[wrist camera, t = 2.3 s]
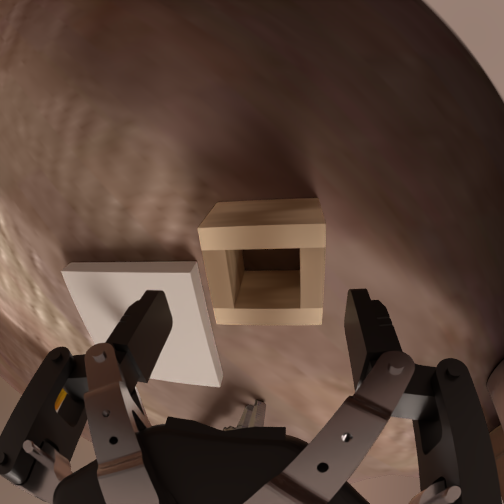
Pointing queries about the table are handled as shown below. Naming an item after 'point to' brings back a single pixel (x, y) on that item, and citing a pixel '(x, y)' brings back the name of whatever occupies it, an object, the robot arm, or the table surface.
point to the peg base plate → (132, 289)
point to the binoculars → (499, 454)
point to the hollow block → (265, 282)
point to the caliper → (251, 416)
